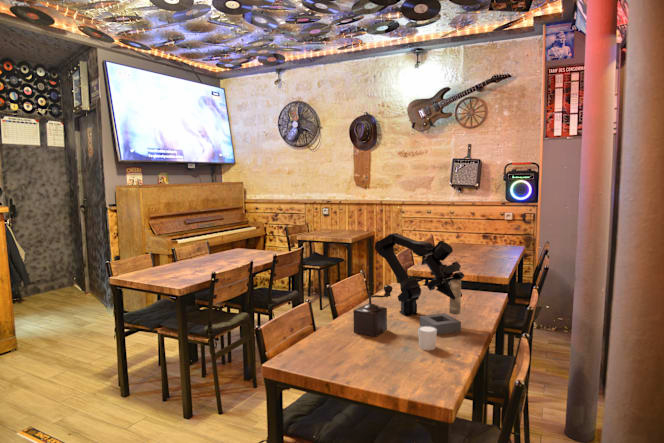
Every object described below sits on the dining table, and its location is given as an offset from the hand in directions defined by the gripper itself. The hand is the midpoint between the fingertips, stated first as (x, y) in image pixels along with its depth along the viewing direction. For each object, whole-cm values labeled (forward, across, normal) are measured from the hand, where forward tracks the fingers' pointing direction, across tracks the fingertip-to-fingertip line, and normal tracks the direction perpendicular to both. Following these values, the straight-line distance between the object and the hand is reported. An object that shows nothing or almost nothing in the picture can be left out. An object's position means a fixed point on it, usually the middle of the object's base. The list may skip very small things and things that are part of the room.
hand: (458, 297), depth 172 cm
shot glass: (+13, -25, +6) cm, 28 cm away
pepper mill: (-6, -26, +25) cm, 37 cm away
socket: (+6, -5, +13) cm, 15 cm away
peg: (+4, 0, +6) cm, 7 cm away
